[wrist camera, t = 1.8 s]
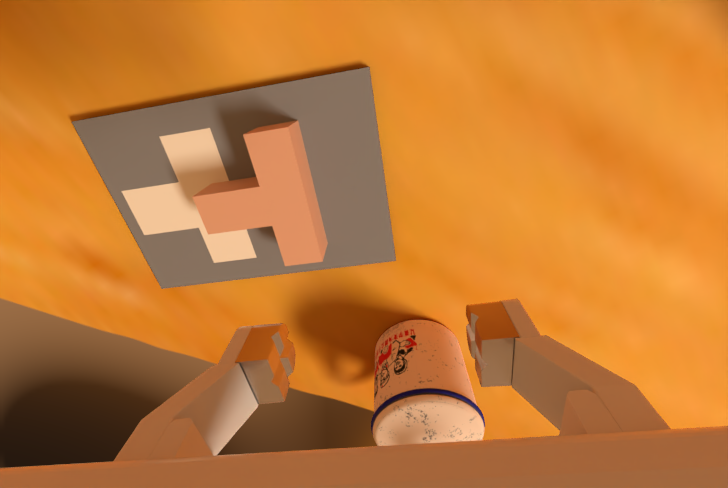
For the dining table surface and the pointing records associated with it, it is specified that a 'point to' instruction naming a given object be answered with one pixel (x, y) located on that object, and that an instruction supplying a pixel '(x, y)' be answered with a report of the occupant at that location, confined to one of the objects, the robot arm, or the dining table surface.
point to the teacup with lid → (422, 388)
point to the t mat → (244, 176)
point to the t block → (271, 196)
